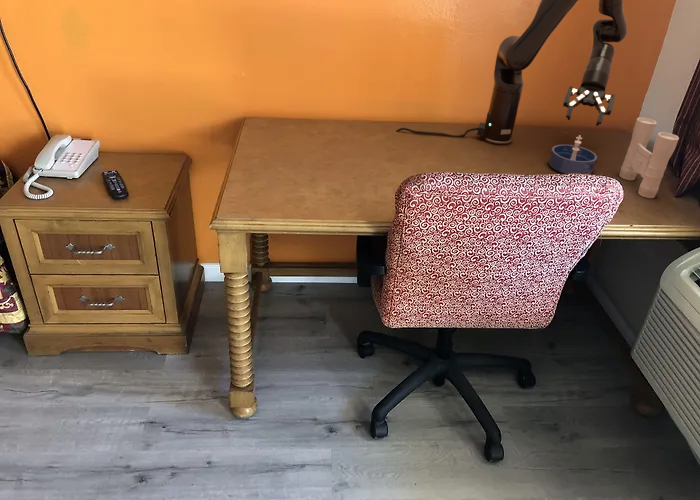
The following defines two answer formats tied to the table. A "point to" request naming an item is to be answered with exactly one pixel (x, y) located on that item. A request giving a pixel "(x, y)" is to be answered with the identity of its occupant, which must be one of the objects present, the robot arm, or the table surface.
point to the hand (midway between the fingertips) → (583, 121)
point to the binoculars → (648, 156)
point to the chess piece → (576, 148)
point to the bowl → (564, 165)
